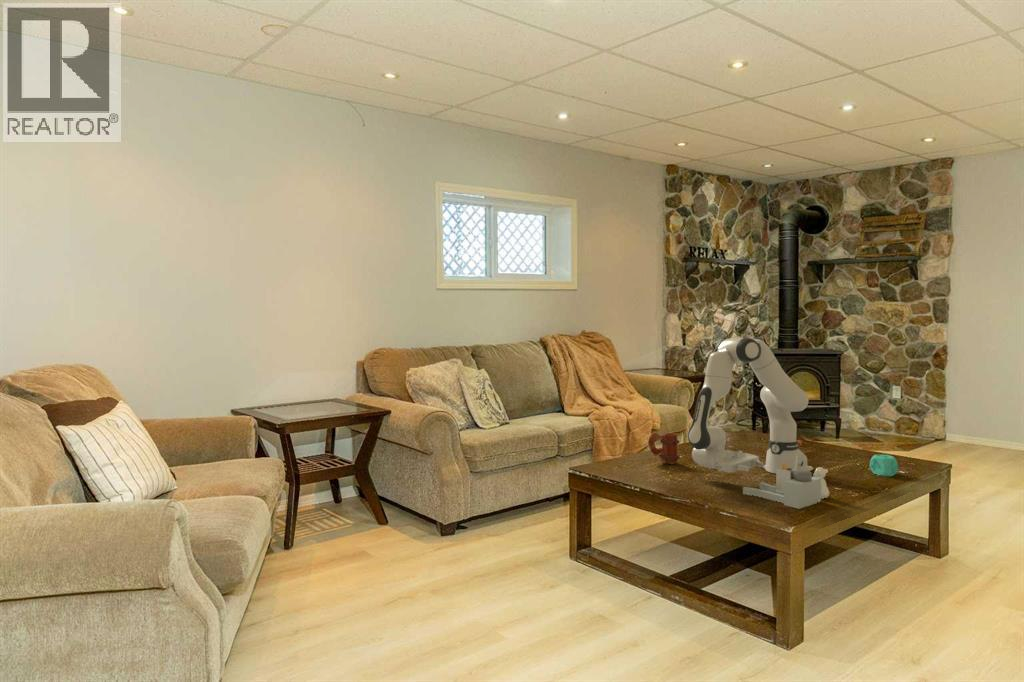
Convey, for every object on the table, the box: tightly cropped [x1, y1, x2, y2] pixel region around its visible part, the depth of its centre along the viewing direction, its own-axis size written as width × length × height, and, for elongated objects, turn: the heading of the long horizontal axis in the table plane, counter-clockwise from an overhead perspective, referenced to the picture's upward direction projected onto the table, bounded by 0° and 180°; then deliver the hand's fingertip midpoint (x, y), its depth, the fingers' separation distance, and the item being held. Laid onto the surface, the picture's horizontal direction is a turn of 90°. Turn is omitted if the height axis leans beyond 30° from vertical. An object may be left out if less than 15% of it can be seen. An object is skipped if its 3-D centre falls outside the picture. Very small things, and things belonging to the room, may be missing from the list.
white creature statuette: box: [812, 466, 830, 500], centre depth 265 cm, size 10×9×12 cm
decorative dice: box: [869, 454, 899, 477], centre depth 299 cm, size 8×8×8 cm
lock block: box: [775, 463, 798, 495], centre depth 262 cm, size 5×6×14 cm
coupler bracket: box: [742, 470, 822, 510], centre depth 264 cm, size 15×25×12 cm, turn 36°
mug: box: [648, 431, 680, 465], centre depth 322 cm, size 15×8×15 cm, turn 84°
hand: (756, 467), depth 273 cm, fingers open, 8 cm apart
